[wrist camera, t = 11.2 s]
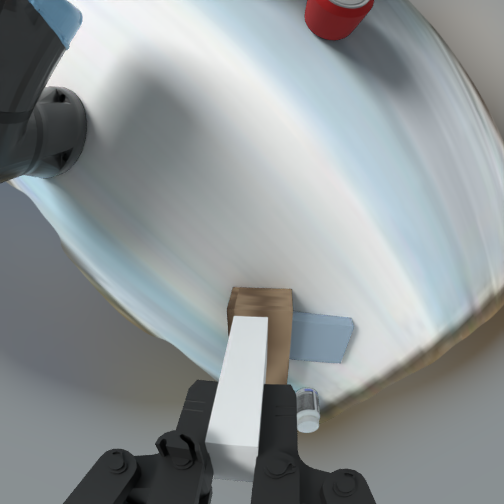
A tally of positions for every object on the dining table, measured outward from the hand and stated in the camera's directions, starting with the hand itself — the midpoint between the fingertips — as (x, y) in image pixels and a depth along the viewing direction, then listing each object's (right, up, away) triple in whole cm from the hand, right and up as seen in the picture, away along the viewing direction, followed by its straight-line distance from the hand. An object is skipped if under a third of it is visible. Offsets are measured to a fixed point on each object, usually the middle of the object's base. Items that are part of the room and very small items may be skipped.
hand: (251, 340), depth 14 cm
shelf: (+2, -8, +37) cm, 38 cm away
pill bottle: (+11, -24, +43) cm, 50 cm away
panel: (+8, -9, +37) cm, 39 cm away
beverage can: (+10, +35, +18) cm, 40 cm away
